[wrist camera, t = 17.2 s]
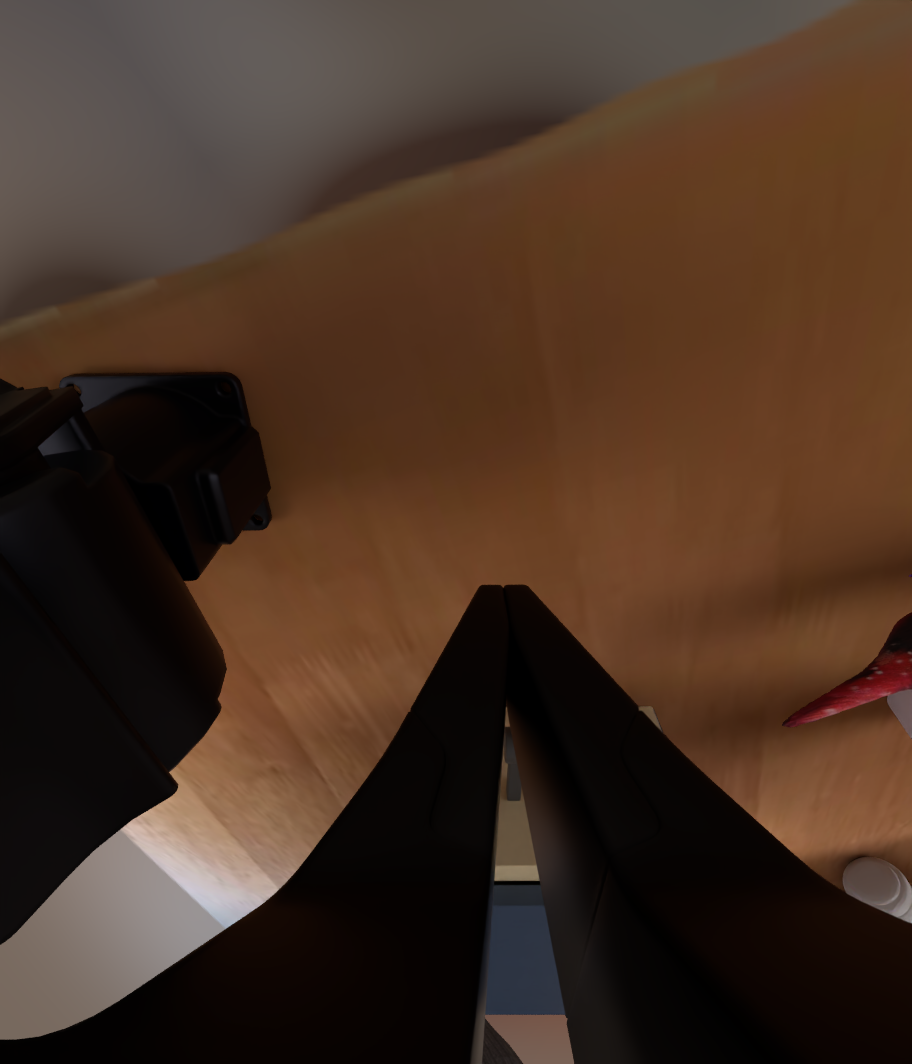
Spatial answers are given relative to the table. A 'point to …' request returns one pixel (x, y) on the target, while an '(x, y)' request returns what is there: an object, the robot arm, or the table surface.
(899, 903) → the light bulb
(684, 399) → the table surface
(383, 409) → the table surface
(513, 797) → the drawer
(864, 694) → the decorative bird figurine
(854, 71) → the table surface
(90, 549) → the robot arm
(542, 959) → the cabinet
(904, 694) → the smoothie
